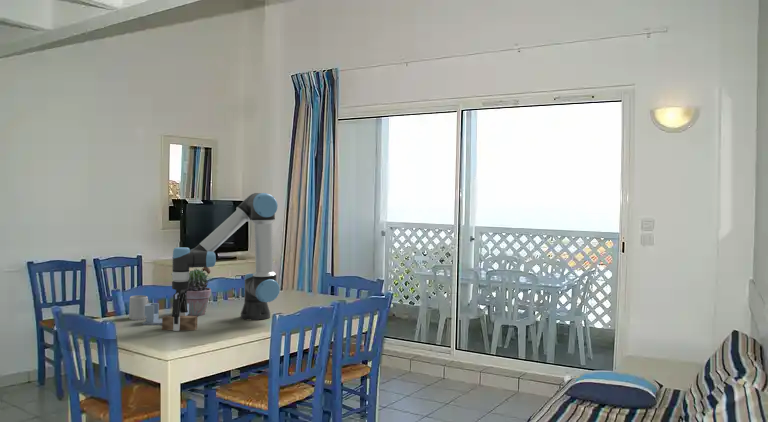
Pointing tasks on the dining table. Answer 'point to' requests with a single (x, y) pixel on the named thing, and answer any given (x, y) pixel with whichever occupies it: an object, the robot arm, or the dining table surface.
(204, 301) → the potted plant
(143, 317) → the mug
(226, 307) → the dining table surface
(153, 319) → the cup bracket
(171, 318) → the tapered block
